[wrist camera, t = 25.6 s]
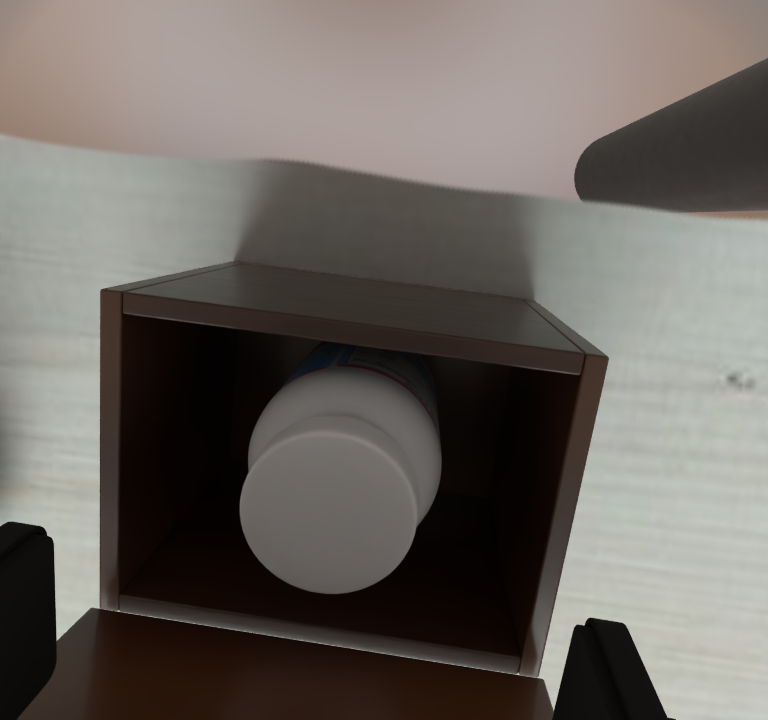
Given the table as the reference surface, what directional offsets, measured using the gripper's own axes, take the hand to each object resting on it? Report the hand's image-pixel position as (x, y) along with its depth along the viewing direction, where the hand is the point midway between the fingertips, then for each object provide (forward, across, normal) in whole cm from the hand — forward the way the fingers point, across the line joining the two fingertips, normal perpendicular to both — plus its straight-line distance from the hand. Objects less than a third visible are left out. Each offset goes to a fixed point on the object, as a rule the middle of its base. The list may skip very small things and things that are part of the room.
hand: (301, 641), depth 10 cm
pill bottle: (+16, +1, 0) cm, 16 cm away
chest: (+16, +1, 0) cm, 17 cm away
